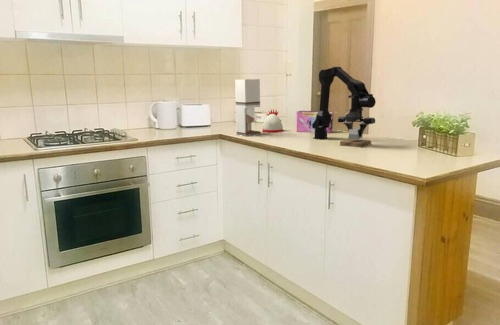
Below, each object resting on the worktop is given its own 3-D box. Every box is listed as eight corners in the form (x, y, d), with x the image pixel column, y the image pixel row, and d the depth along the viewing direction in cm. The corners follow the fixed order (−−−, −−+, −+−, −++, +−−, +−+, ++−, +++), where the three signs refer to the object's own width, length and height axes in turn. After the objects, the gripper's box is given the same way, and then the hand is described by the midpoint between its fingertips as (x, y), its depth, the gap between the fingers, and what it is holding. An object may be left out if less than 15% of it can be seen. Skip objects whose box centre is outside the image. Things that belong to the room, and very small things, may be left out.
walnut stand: (339, 145, 219) (340, 141, 218) (350, 142, 228) (350, 138, 227) (361, 147, 211) (361, 143, 211) (370, 144, 220) (371, 140, 220)
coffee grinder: (246, 136, 258) (244, 79, 251) (236, 134, 267) (235, 79, 260) (260, 134, 265) (259, 79, 258) (250, 133, 273) (249, 79, 266)
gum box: (334, 132, 270) (335, 111, 267) (330, 133, 263) (331, 112, 261) (300, 130, 282) (300, 110, 279) (296, 131, 275) (296, 111, 272)
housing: (348, 138, 218) (348, 129, 217) (353, 137, 223) (354, 127, 222) (357, 139, 215) (357, 129, 214) (362, 137, 219) (362, 128, 218)
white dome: (283, 132, 274) (283, 109, 270) (262, 132, 274) (262, 110, 271) (282, 129, 287) (282, 108, 284) (262, 130, 288) (262, 108, 284)
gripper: (333, 107, 215) (332, 136, 218) (367, 108, 204) (365, 139, 207) (343, 105, 224) (342, 134, 227) (376, 106, 212) (374, 137, 215)
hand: (355, 136), depth 219 cm, fingers closed on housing, 5 cm apart
